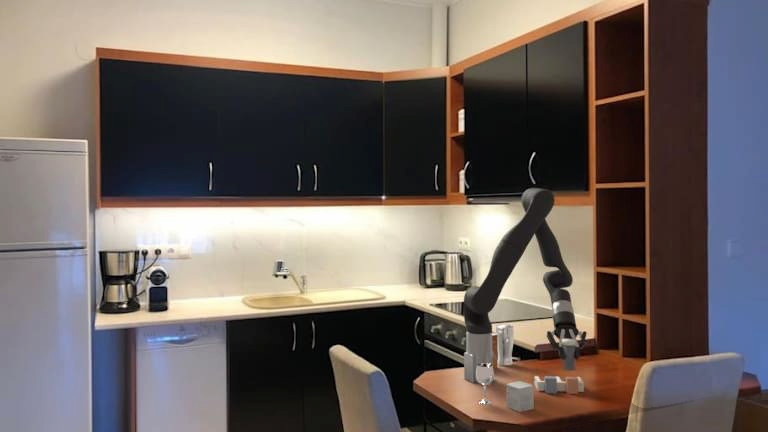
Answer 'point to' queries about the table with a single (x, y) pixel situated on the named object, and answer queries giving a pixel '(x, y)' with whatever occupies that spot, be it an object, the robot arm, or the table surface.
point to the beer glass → (505, 344)
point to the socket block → (559, 384)
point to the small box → (494, 350)
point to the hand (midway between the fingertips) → (570, 358)
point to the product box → (520, 396)
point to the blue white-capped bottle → (569, 353)
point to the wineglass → (484, 378)
